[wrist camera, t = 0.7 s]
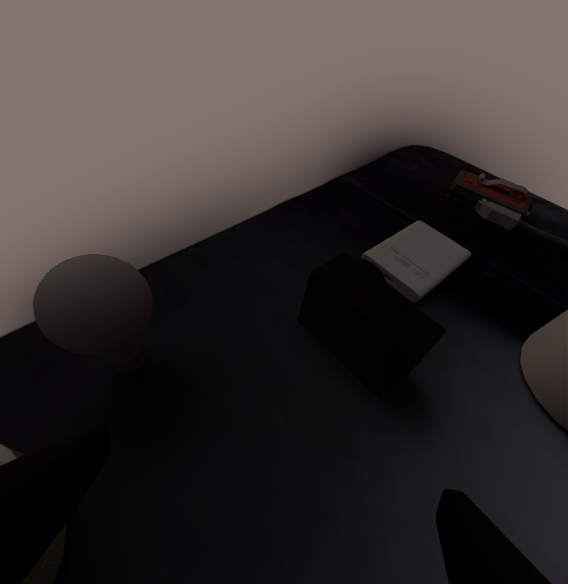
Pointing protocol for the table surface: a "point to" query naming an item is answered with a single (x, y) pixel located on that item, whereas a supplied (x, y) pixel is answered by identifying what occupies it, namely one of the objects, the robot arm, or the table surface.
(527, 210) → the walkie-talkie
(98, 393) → the table surface
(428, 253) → the hard drive
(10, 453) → the bowl
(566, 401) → the wide mouth jar
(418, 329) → the digital camera
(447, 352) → the table surface
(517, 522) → the table surface
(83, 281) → the lightbulb
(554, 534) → the table surface
